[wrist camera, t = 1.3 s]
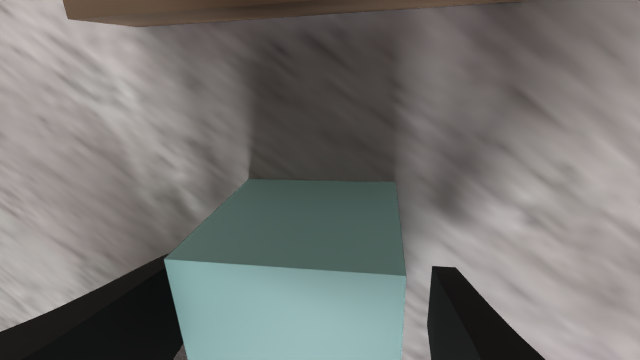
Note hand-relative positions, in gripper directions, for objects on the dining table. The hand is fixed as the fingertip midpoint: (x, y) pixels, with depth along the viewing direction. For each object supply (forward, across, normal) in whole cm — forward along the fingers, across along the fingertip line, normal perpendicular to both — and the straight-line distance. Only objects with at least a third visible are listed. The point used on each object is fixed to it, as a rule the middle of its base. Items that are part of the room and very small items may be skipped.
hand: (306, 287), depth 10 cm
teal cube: (+2, 0, 0) cm, 2 cm away
